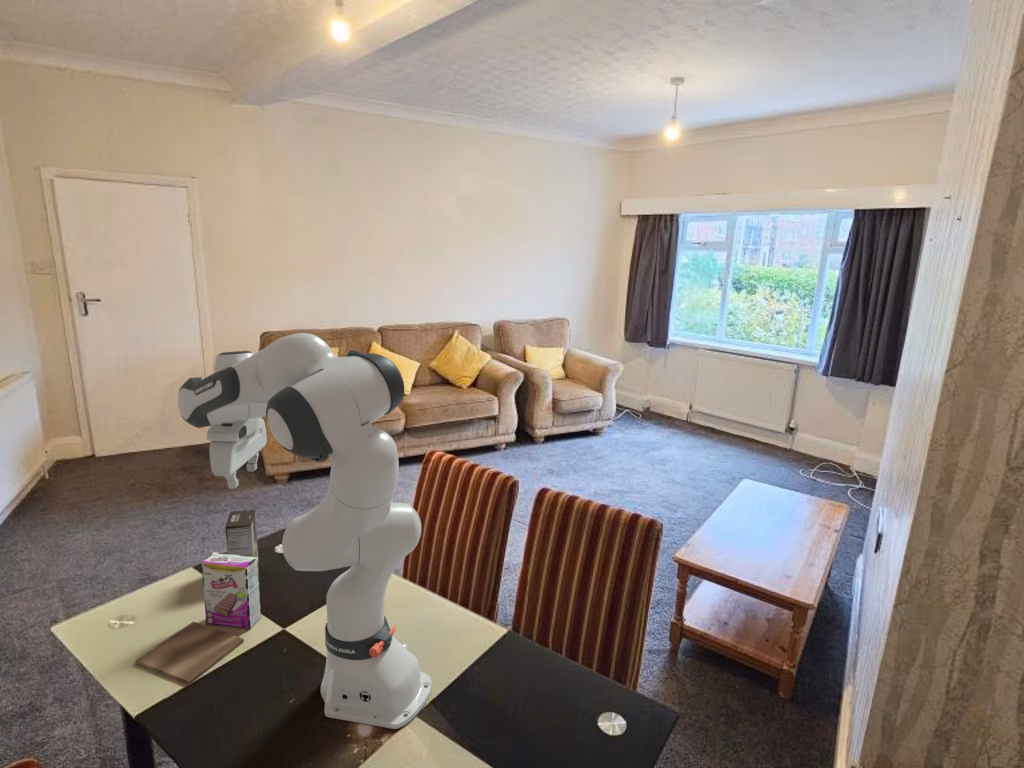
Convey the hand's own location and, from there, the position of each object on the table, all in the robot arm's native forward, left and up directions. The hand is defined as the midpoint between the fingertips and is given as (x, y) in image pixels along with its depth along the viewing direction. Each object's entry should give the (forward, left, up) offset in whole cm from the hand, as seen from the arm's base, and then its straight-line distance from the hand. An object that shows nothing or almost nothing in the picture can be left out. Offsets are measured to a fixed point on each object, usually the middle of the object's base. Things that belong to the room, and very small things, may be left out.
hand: (243, 478), depth 129 cm
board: (+1, +16, -35) cm, 38 cm away
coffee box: (+15, -12, -35) cm, 40 cm away
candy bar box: (+1, +5, -35) cm, 35 cm away
